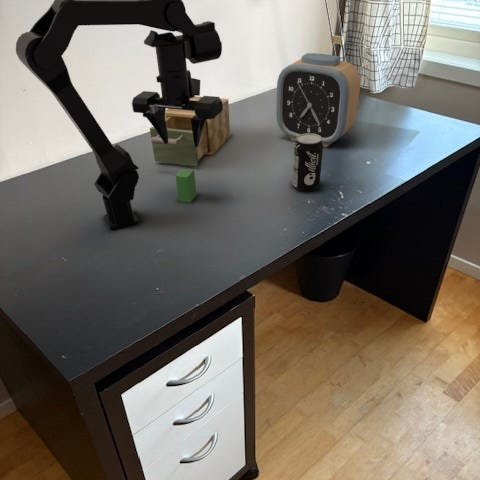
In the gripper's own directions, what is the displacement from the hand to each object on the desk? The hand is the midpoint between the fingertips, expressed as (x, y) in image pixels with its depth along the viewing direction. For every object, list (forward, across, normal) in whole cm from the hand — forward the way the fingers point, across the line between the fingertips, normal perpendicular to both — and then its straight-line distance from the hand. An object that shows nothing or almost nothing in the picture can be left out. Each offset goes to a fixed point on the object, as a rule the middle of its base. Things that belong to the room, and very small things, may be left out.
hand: (181, 144), depth 106 cm
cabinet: (+13, +10, -32) cm, 36 cm away
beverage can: (+13, -26, -13) cm, 32 cm away
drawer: (+12, +10, -20) cm, 25 cm away
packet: (+13, 0, 0) cm, 13 cm away
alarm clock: (+13, -21, -43) cm, 50 cm away
